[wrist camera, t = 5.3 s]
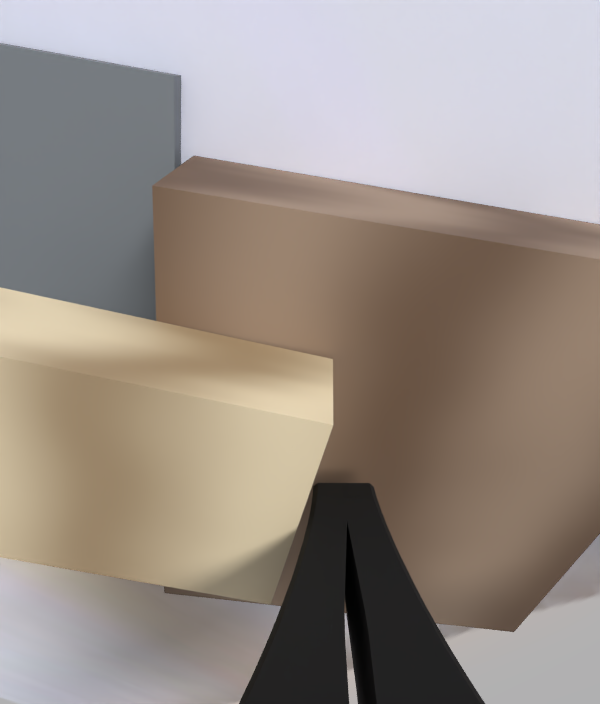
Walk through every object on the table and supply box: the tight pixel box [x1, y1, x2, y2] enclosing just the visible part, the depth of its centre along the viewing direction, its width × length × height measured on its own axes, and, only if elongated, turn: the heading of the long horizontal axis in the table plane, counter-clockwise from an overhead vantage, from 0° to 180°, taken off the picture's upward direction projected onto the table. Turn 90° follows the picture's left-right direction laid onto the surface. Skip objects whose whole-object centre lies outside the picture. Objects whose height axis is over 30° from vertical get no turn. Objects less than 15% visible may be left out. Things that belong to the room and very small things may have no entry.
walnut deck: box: [152, 156, 600, 632], centre depth 12 cm, size 12×13×3 cm
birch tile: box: [0, 287, 333, 605], centre depth 10 cm, size 7×6×2 cm
